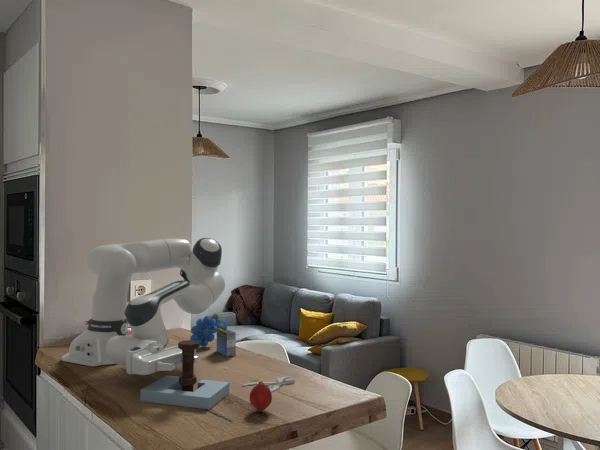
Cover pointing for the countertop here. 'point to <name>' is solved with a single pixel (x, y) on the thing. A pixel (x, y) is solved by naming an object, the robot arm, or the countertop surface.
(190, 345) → the bolt
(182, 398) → the pocket frame
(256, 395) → the onion
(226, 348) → the label tape box
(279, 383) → the pliers
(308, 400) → the countertop surface
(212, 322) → the grapes
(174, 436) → the countertop surface
